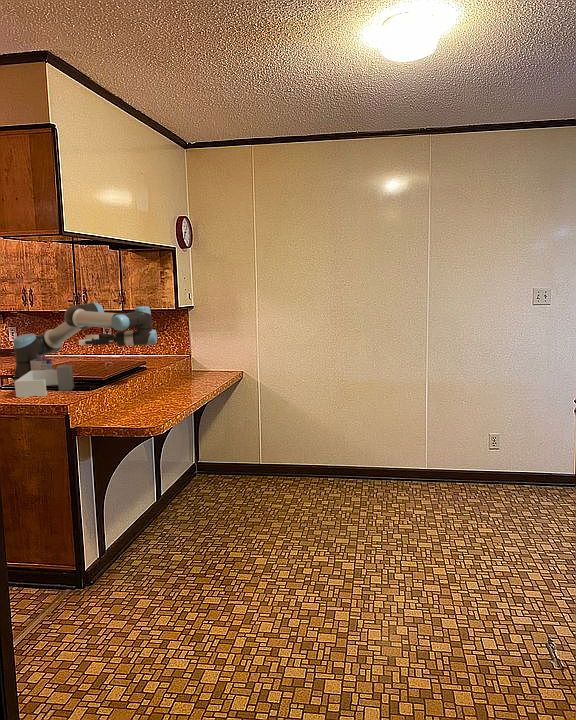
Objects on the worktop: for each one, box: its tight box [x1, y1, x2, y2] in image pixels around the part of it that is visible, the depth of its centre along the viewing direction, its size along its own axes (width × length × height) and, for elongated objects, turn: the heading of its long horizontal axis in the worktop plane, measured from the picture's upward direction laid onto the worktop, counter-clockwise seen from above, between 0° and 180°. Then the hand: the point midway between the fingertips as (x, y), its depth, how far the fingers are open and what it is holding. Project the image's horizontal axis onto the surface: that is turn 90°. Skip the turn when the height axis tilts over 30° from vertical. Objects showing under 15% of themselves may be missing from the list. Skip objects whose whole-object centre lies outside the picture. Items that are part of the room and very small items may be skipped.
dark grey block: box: [55, 364, 75, 392], centre depth 316 cm, size 6×6×12 cm
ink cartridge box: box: [30, 355, 54, 371], centre depth 334 cm, size 10×6×14 cm, turn 78°
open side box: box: [14, 368, 58, 398], centre depth 316 cm, size 24×14×8 cm, turn 4°
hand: (82, 340), depth 313 cm, fingers open, 13 cm apart
